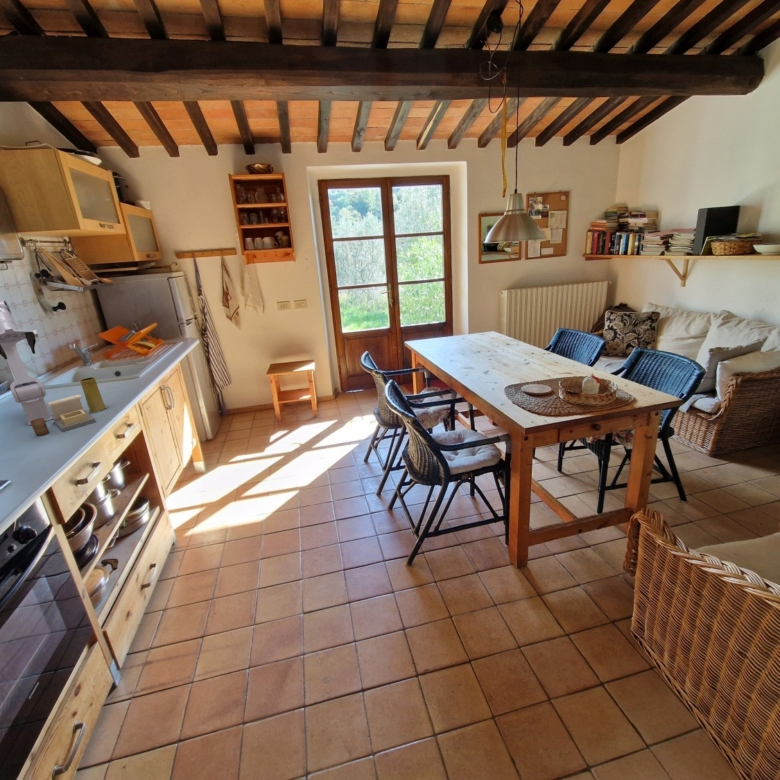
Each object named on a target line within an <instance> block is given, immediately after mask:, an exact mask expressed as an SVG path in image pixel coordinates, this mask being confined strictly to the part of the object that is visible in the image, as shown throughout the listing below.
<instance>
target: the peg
mask: <svg viewBox="0 0 780 780" xmlns="http://www.w3.org/2000/svg"><path fill="white" fill-rule="evenodd" d="M31 424H32V425H31V427H32V429H33V432H34V433H35V437H39V438H40V437H44V436H47V435H49V434H50V431H49V429H48V428H49V427H48V425H47V424H46V421H45V420H44V418H38V419H34V420H32V421H31Z"/></svg>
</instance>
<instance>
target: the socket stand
mask: <svg viewBox="0 0 780 780" xmlns="http://www.w3.org/2000/svg"><path fill="white" fill-rule="evenodd" d="M81 399H83V396H82V395H81V394H79V393H78V394H75V395H72V396H67V397H64V398H60V399H56V400H55V399H54V400H52V401H48V402H46V403H47V404H46V405H47V406H48V407H50V409H51V410H50V411H51V413H52V415H53V422H54V424H55V425H56V426H57V427H58V428H59V429H60V431H61V432H62V433H64V432H67V431H71V430H74V429H78V428H81V427H83V426H87V425H90V424H93V423H94V424H95V423H96V422H97V421H96V419H95V417H93V416H92V415H91V414H90V412H87V411H86V409H84V407H83V405H82V402H81Z"/></svg>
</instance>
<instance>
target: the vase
mask: <svg viewBox="0 0 780 780" xmlns="http://www.w3.org/2000/svg"><path fill="white" fill-rule="evenodd" d="M79 383H80V385H81V388H82V391H83V393H84V398H85V400H86V405H87V407H88V411H89V413H99V412H102V411H104V410H106V409H105V408H107V406H106V405H105V403H104V399H103V397H102V394H101V392H100V389H99V386H98V383H97V380H96V378H95V377H94V376H90V377H85V378H82V379H80V381H79ZM101 410H102V411H101ZM98 411H99V412H98Z"/></svg>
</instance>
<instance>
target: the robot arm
mask: <svg viewBox="0 0 780 780" xmlns="http://www.w3.org/2000/svg"><path fill="white" fill-rule="evenodd" d="M36 338H39V333H38V331H37V330H36V329H33V330H30V329H28V330H27V329H26V330H25V329H19V327H18V326H17V323H16V321H15V320H14V317H13V316H12V310H11V308H10V306H9V304H8V302H7V300H0V355H1V357H3V359H4V360H6V361H7V364H8V366H9V368H10V371H11V372H12V375H13V377H14V381H12V383H10V385H9V388H10V391H11V394H12V396H13V398H14V401H15V403H18V404H20V405H21V407H22V409H23V412H24V414H25V416H26V419H25V421H26V423H27V424H28V426H32V424H31V421H32V420H34V419H38V418H44V420H45V422H47V421H51V420H54V416H52V415H51V414H50V411H49V410H48V407H47V404H46V402H45V397H46V395H47V393H46V389H45V388H44V385H43V384H42V382H41V381H40V379H39V378H37V377H33V376H29V374H28V372H27V370H26V367H25V364H24V363H23V360H22V359H21V357H20V355H19V352H18V350H17V343H18V342H21V341H23V340H26V342H27V345H28V346H29V348H30V350H31V353H32V354H33V355H35V354H36V350H35V346H36V344H37V340H36Z"/></svg>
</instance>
